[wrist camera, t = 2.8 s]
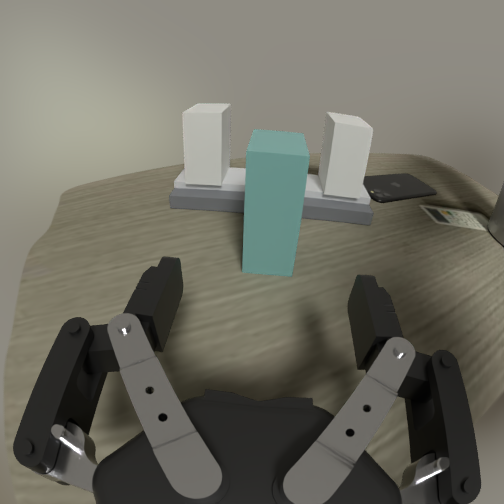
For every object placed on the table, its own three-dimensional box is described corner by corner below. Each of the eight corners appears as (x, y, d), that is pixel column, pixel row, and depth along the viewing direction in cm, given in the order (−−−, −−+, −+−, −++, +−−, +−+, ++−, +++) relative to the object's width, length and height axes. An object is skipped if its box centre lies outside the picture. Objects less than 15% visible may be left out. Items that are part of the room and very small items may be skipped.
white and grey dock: (354, 190, 39) (367, 116, 32) (370, 225, 31) (391, 135, 25) (191, 176, 40) (188, 101, 33) (170, 207, 32) (163, 116, 26)
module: (290, 235, 29) (303, 133, 23) (291, 276, 24) (309, 156, 18) (249, 231, 29) (254, 129, 23) (242, 272, 24) (246, 151, 18)
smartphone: (439, 191, 41) (379, 200, 36) (438, 196, 41) (378, 206, 36) (407, 171, 46) (344, 176, 41) (406, 176, 47) (343, 182, 42)
